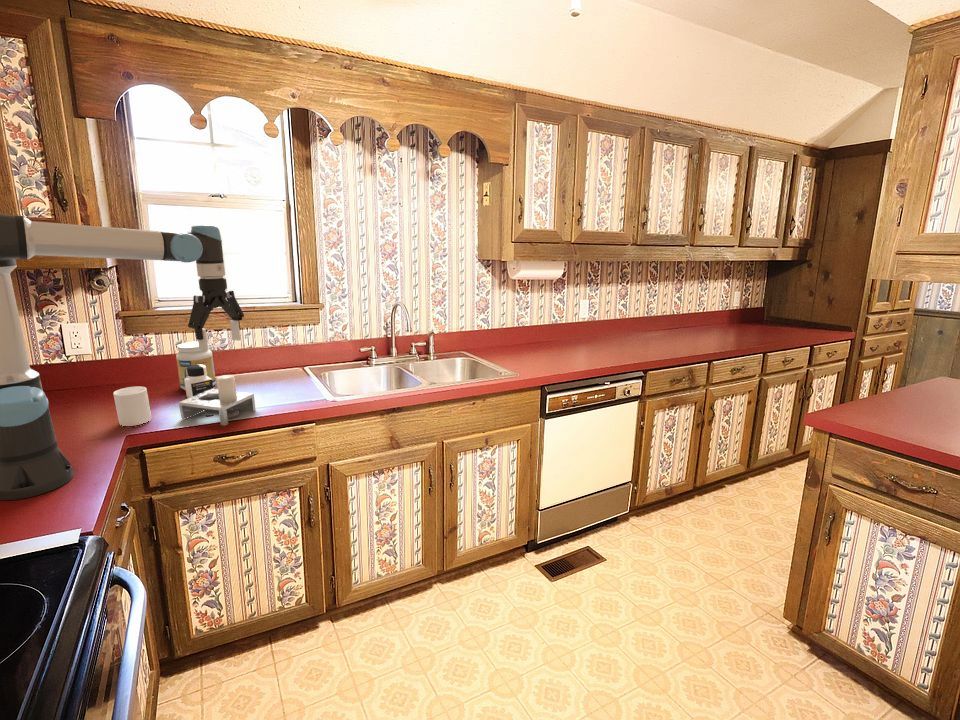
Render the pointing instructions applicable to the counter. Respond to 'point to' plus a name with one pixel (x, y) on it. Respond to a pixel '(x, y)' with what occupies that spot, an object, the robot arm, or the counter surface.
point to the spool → (227, 392)
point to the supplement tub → (193, 360)
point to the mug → (132, 406)
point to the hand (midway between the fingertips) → (220, 344)
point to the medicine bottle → (197, 380)
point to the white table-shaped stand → (215, 404)
